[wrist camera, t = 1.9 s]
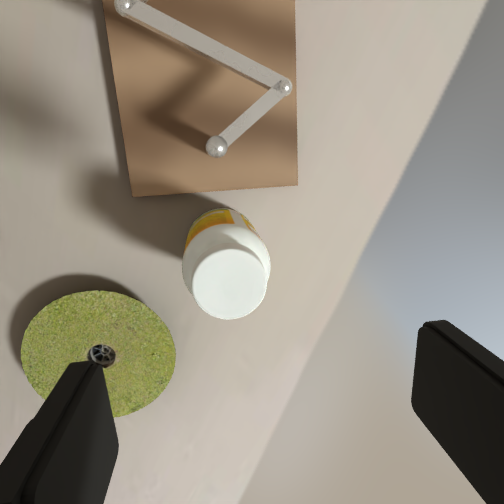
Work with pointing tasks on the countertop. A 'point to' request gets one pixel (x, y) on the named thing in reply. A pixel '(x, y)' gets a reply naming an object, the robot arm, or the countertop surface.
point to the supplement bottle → (225, 264)
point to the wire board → (204, 98)
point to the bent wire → (134, 8)
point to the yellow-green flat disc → (101, 346)
